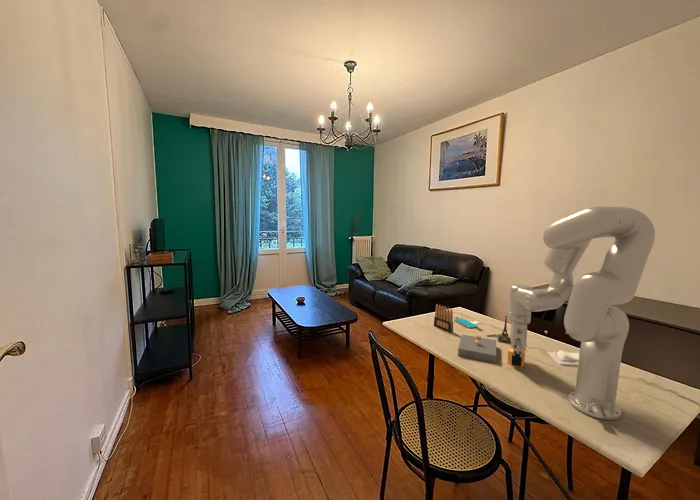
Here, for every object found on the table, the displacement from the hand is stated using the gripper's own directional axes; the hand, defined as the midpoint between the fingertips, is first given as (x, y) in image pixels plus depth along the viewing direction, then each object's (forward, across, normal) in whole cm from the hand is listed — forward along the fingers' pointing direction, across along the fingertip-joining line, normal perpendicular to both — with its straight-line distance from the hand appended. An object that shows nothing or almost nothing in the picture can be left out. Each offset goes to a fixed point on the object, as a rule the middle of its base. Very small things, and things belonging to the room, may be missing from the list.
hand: (515, 360), depth 120 cm
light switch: (+2, +13, -20) cm, 24 cm away
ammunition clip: (+1, +24, +31) cm, 39 cm away
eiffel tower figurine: (+2, +22, +3) cm, 22 cm away
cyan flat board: (+2, +38, +20) cm, 43 cm away
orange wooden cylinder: (+1, 0, 0) cm, 1 cm away
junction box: (+1, +5, +14) cm, 15 cm away
